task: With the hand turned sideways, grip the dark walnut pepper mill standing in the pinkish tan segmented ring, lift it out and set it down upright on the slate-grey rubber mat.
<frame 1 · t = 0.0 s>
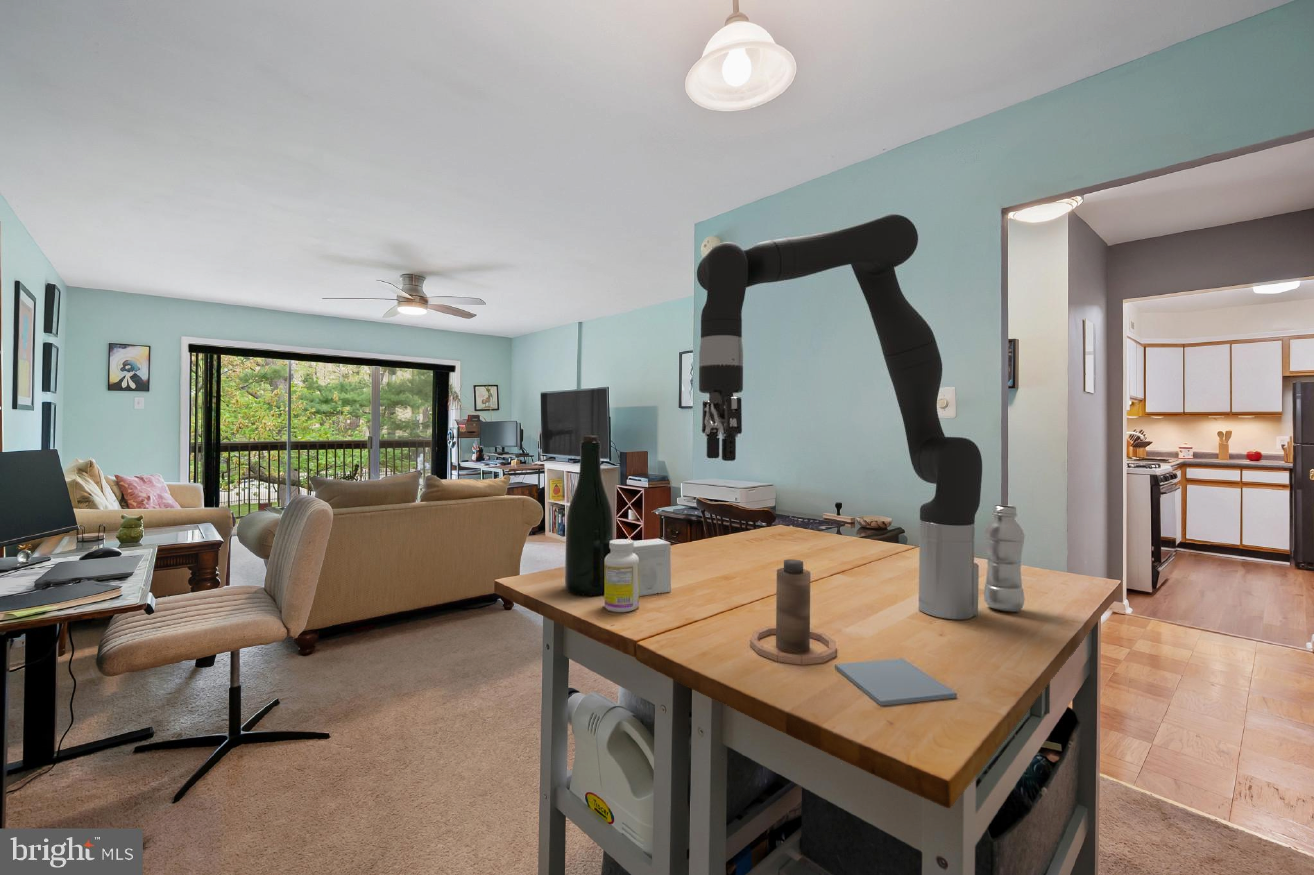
hand: (720, 459, 95), 29 cm above the table, tool pointing down, fingers open, 8 cm apart
wine bottle: (589, 590, 118), on the table
pinkish tan segmented ring: (792, 646, 87), on the table
plastic bottle: (1003, 610, 106), on the table
mat: (892, 682, 75), on the table
pepper mill: (793, 604, 87), in the pinkish tan segmented ring
supplement bottle: (621, 608, 106), on the table
skincare box: (642, 592, 117), on the table
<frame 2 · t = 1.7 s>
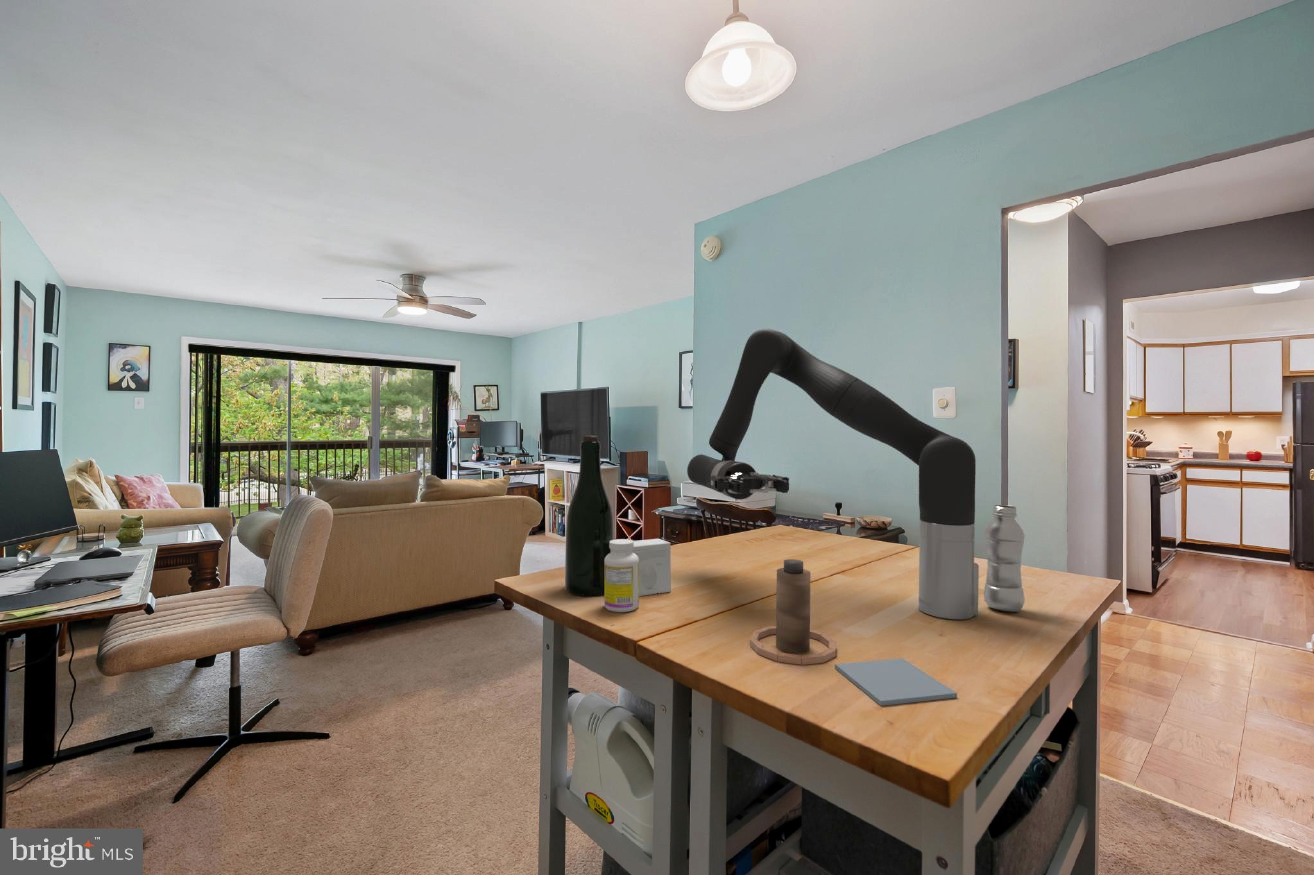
hand: (764, 487, 99), 24 cm above the table, tool horizontal, fingers open, 8 cm apart
nothing on the table moved.
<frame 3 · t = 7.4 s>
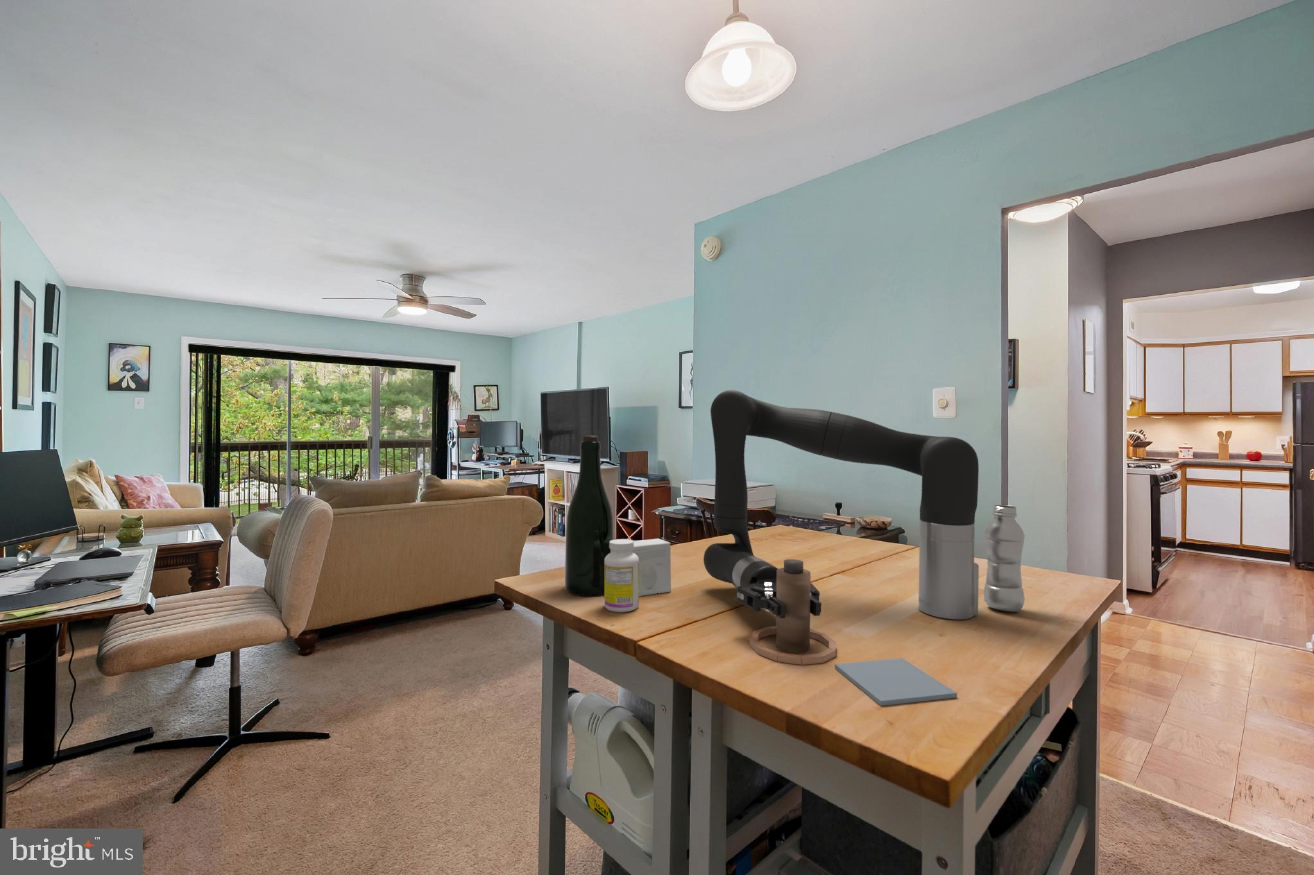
hand: (800, 610, 85), 7 cm above the table, tool horizontal, fingers closed on pepper mill, 5 cm apart
pepper mill: (793, 604, 87), in the pinkish tan segmented ring, touching gripper
everything else where it was.
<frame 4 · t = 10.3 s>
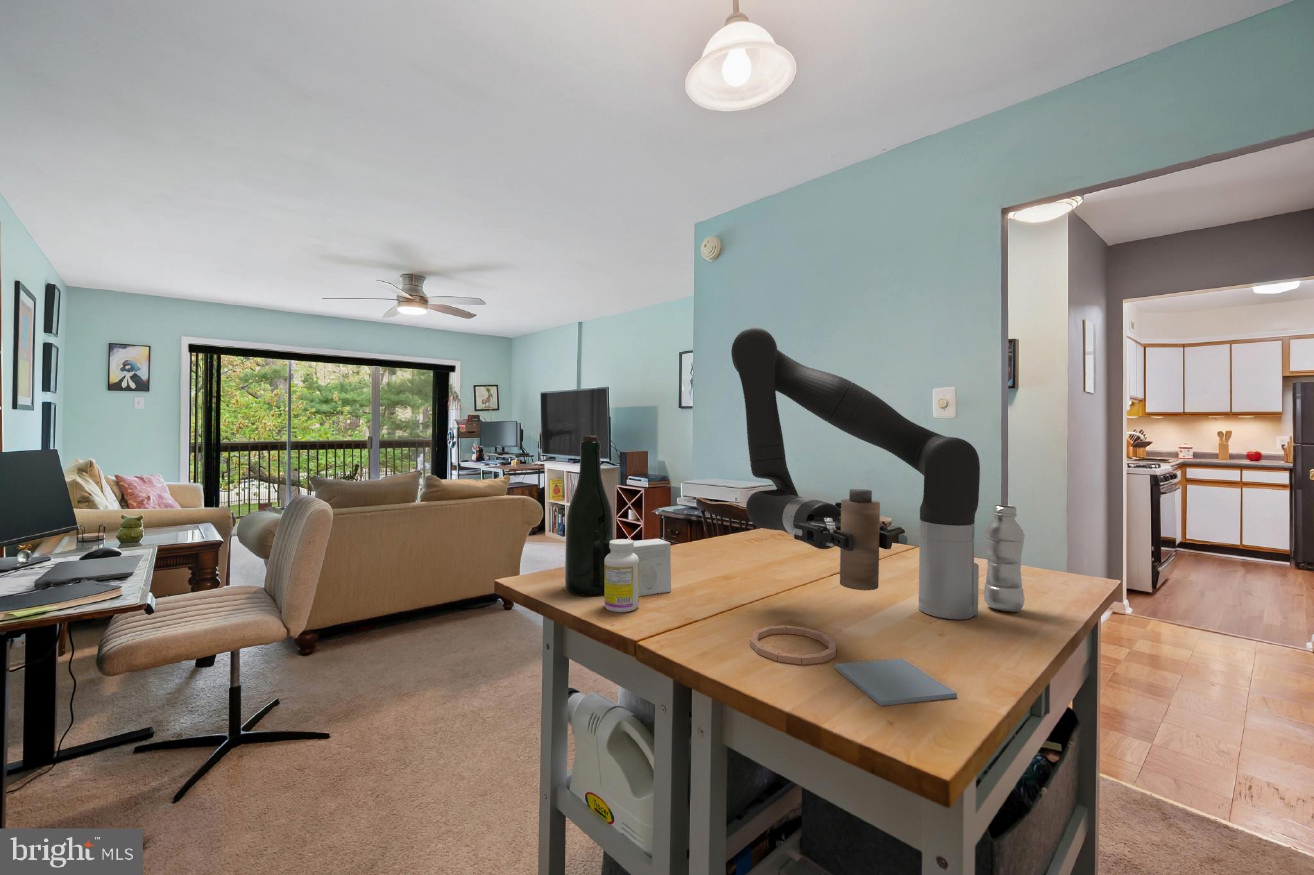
hand: (870, 542, 76), 19 cm above the table, tool horizontal, fingers closed on pepper mill, 5 cm apart
pepper mill: (859, 537, 79), point 19 cm above the table, touching gripper
everything else where it was.
when the fingers open (8 cm above the table, at t = 13.2 s): pepper mill drops 1 cm, resting on mat.
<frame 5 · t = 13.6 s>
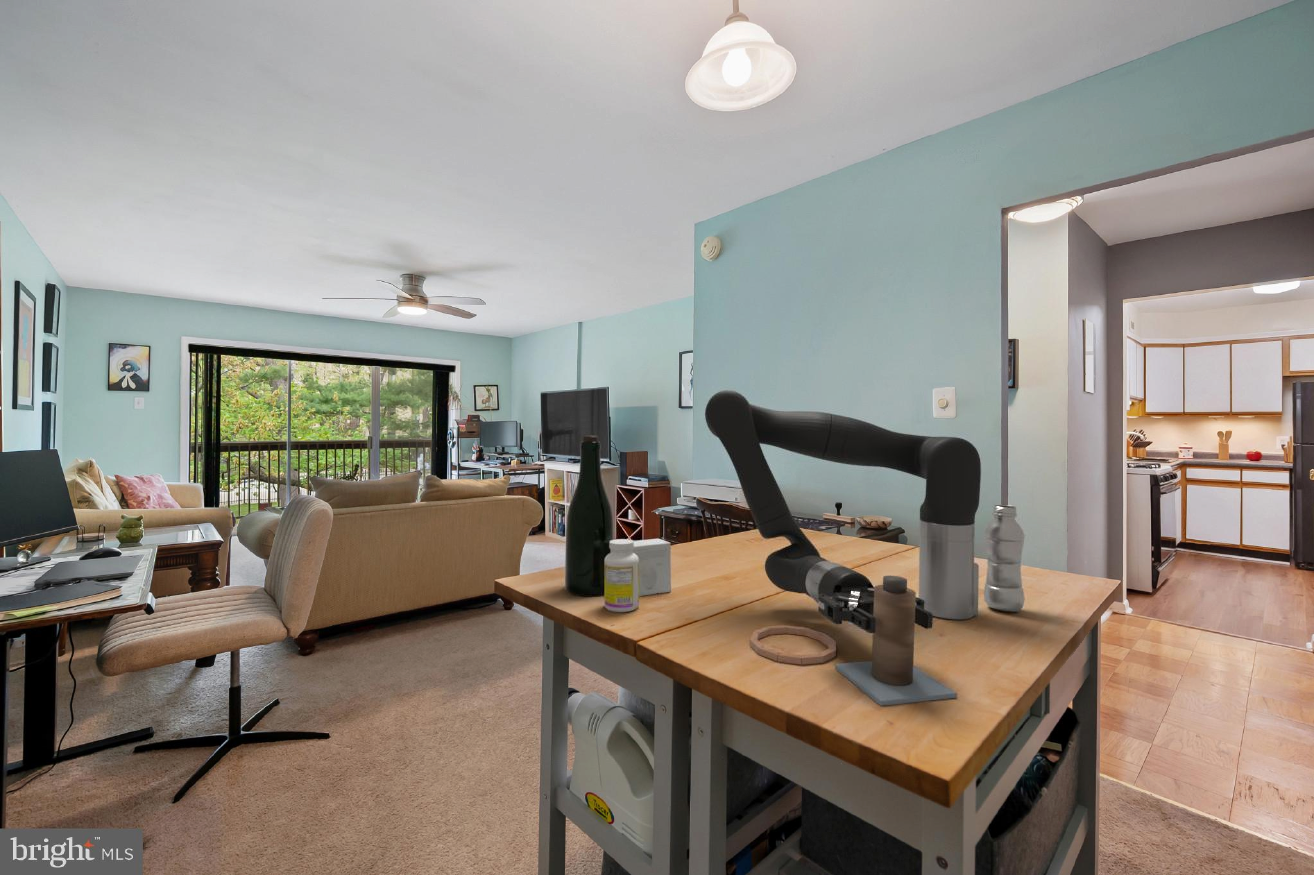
hand: (902, 623, 73), 9 cm above the table, tool horizontal, fingers open, 8 cm apart
pepper mill: (893, 627, 75), on the mat, point 7 cm above the table
everything else where it was.
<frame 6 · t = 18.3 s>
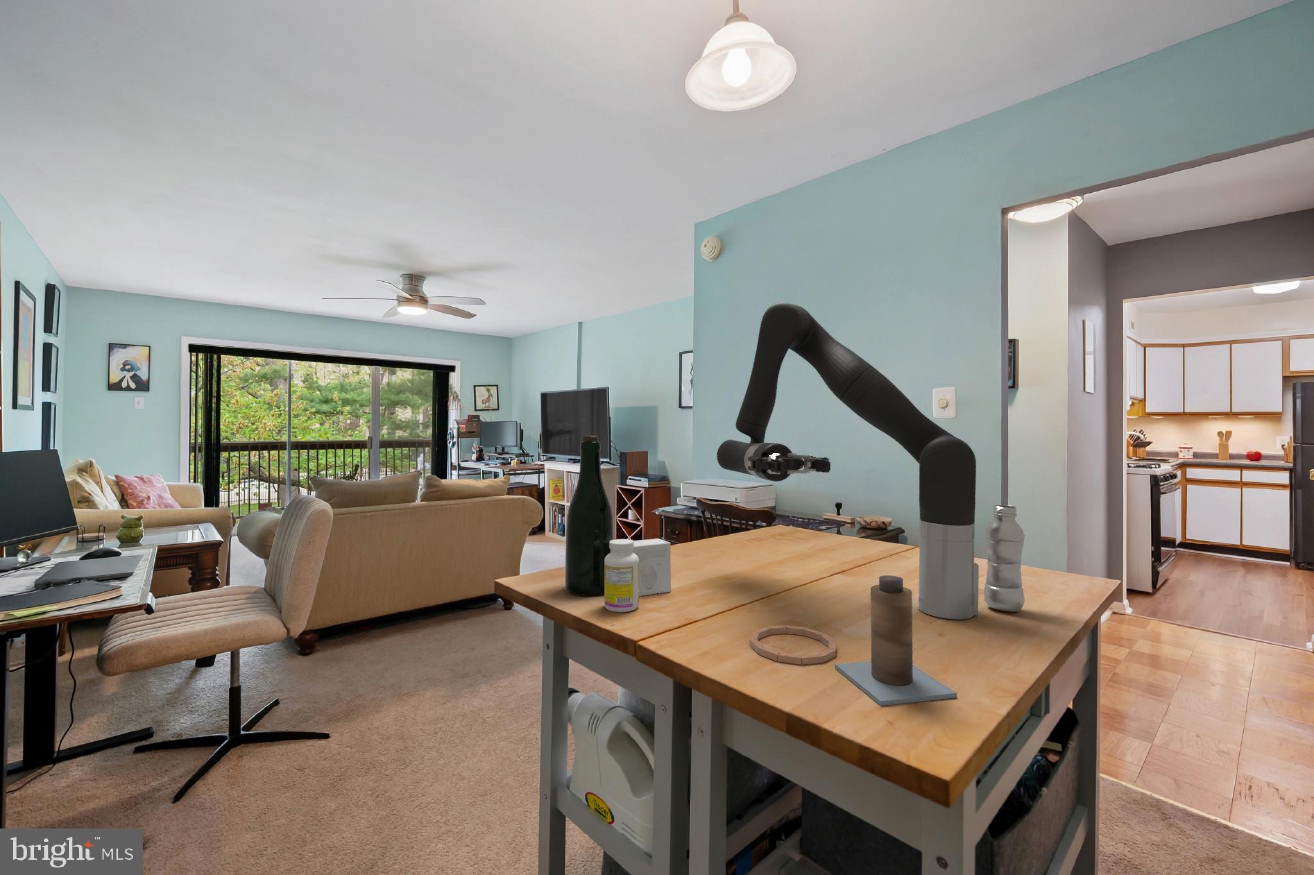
hand: (805, 466, 96), 28 cm above the table, tool horizontal, fingers open, 8 cm apart
nothing on the table moved.
at the end: pepper mill inside the target area on the mat (0.1 cm from its centre), point 7.5 cm above the mat's base; pepper mill tilted 1°; the gripper is holding nothing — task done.
